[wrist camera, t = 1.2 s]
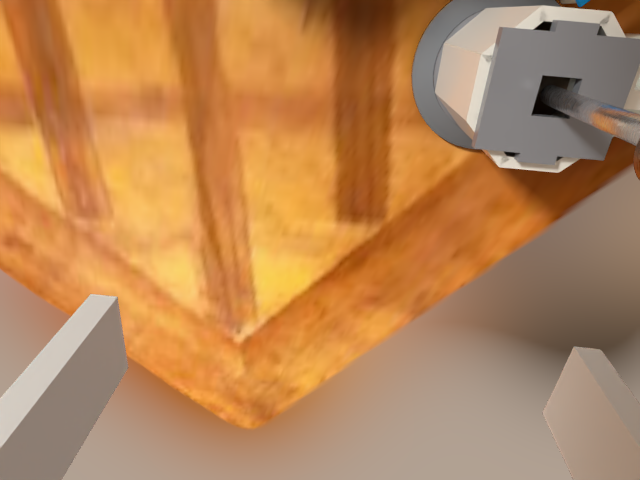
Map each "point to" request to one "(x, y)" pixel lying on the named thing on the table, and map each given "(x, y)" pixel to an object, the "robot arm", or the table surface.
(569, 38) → the cafetiere
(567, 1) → the book
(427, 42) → the disc
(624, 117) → the plunger
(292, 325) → the table surface
